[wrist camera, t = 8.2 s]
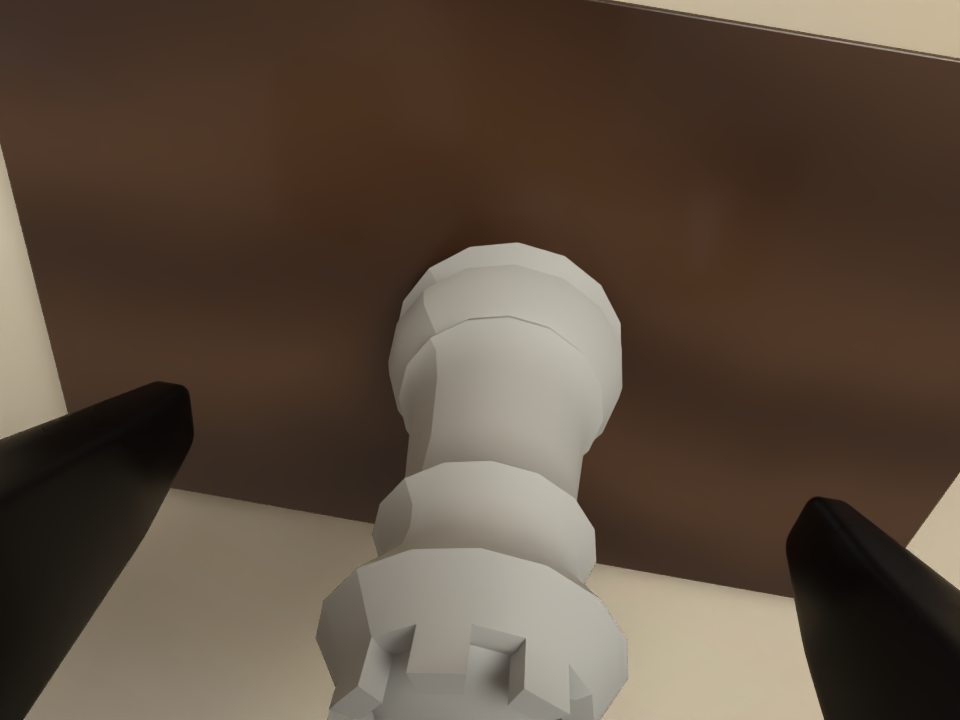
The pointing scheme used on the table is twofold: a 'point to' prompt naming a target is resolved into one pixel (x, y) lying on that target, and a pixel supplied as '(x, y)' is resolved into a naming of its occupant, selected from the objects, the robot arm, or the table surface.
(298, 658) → the table surface
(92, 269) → the walnut board
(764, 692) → the table surface
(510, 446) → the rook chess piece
